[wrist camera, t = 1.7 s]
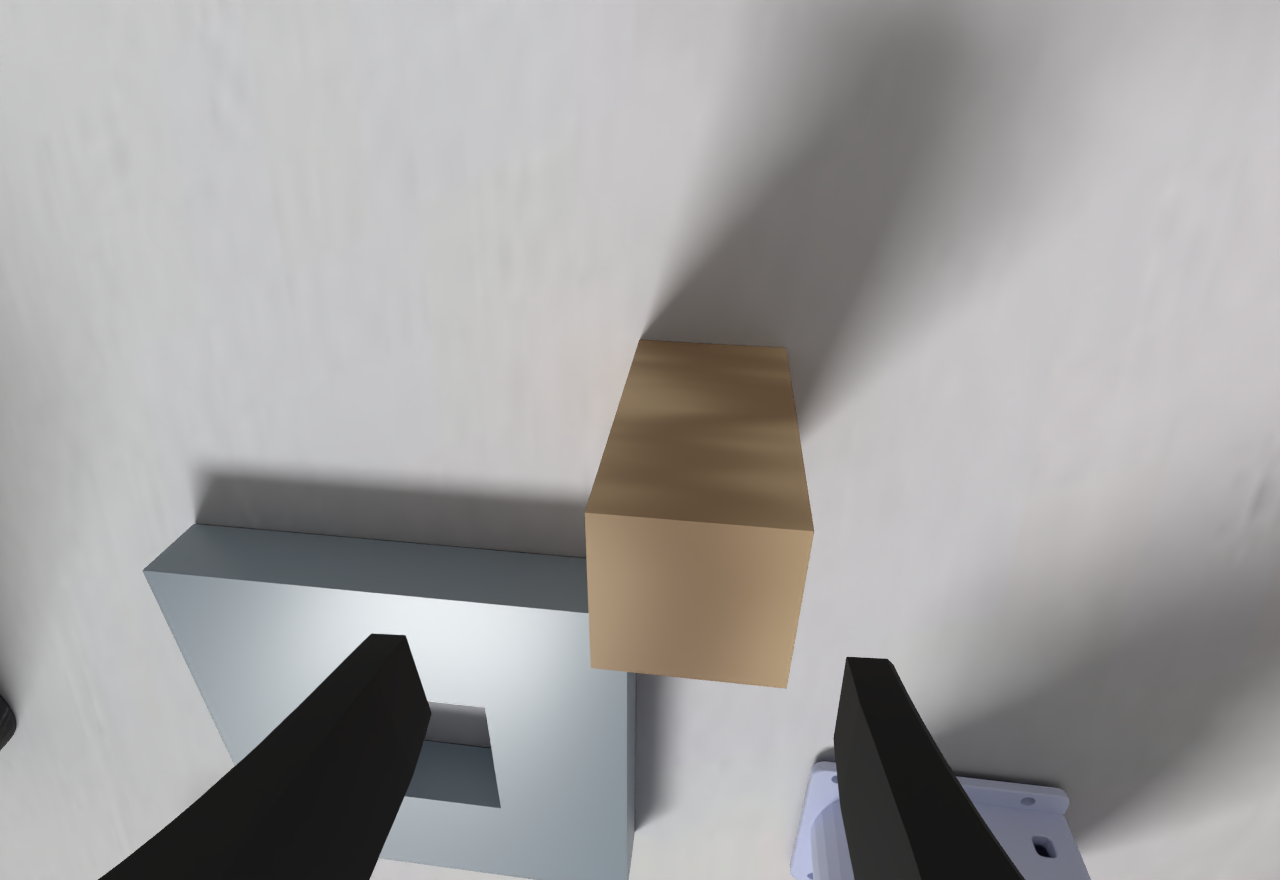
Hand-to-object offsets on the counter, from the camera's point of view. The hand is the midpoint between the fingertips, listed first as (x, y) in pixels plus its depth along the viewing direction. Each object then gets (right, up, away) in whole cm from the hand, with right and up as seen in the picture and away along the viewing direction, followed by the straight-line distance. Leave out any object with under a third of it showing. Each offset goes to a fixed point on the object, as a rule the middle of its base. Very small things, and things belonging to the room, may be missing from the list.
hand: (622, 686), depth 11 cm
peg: (+2, +5, +8) cm, 10 cm away
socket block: (-8, -6, +17) cm, 19 cm away
